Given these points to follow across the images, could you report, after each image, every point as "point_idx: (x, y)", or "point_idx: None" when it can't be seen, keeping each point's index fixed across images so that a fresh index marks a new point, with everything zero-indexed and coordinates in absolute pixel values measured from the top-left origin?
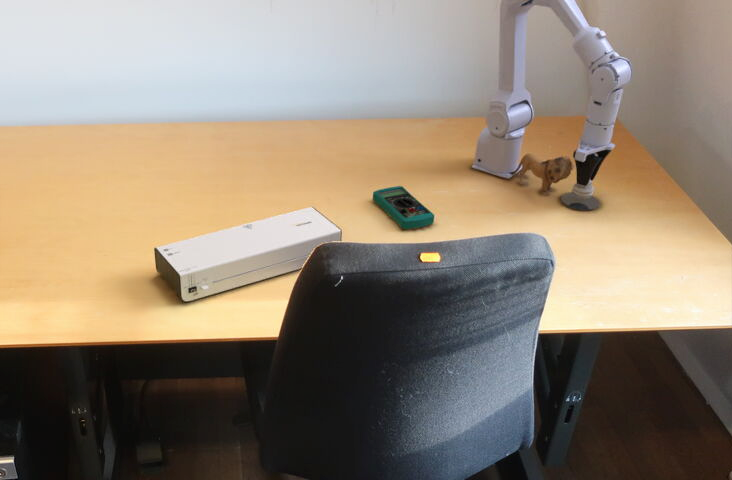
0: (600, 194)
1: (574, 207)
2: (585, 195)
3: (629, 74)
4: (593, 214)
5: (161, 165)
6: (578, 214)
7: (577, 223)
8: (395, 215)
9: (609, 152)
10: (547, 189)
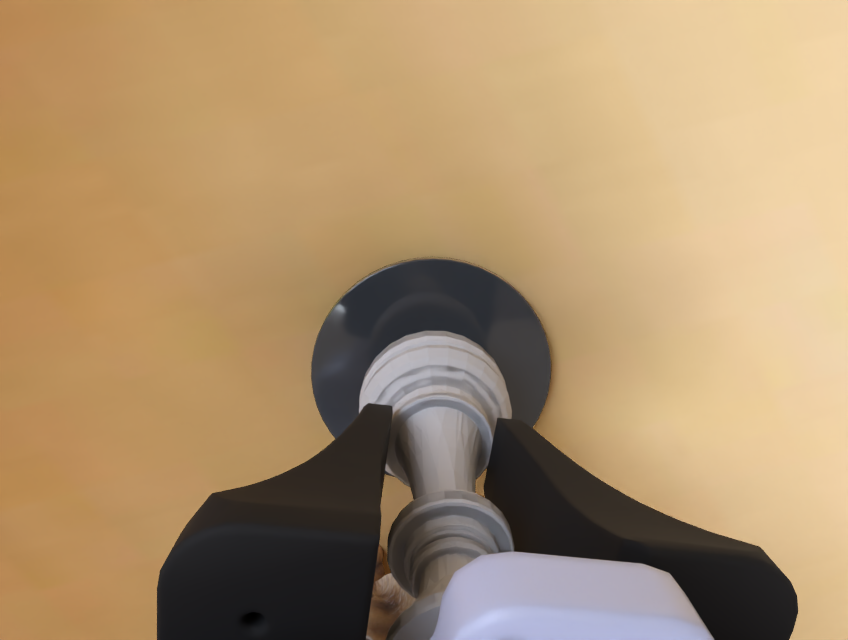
0: (237, 292)
1: (546, 381)
2: (498, 373)
3: None
4: (555, 255)
5: None
6: (599, 335)
7: (722, 308)
8: None
9: (288, 503)
10: (383, 567)
